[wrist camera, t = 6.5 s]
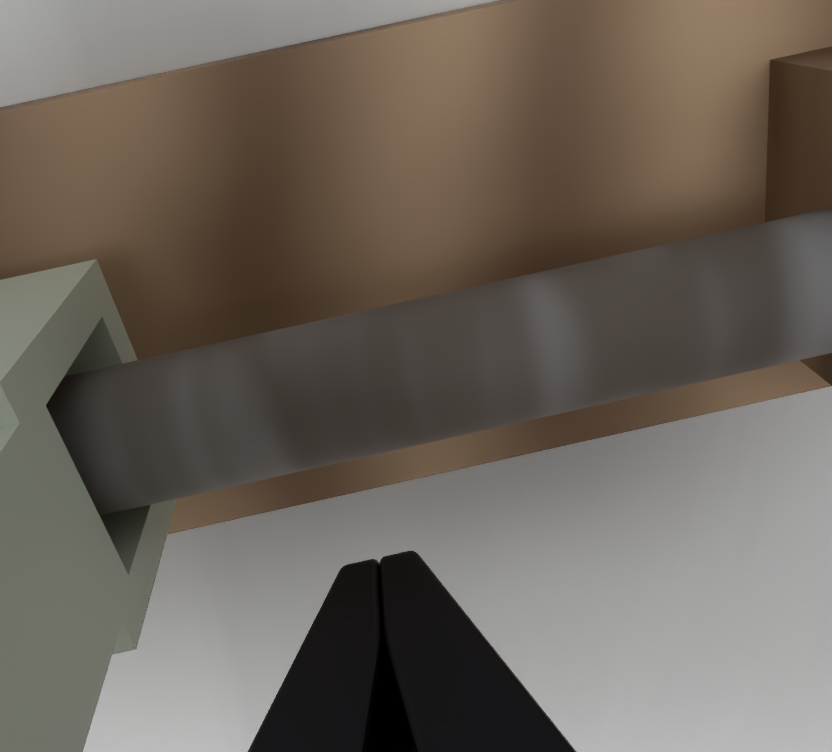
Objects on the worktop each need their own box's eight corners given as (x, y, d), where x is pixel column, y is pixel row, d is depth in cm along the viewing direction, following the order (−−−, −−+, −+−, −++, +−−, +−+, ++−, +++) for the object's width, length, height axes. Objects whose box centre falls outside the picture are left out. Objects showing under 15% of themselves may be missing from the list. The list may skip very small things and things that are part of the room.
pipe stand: (943, -95, 15) (1325, -139, 9) (888, 349, 20) (1121, 500, 14) (-515, 218, 15) (-1046, 371, 9) (-217, 596, 19) (-439, 854, 14)
